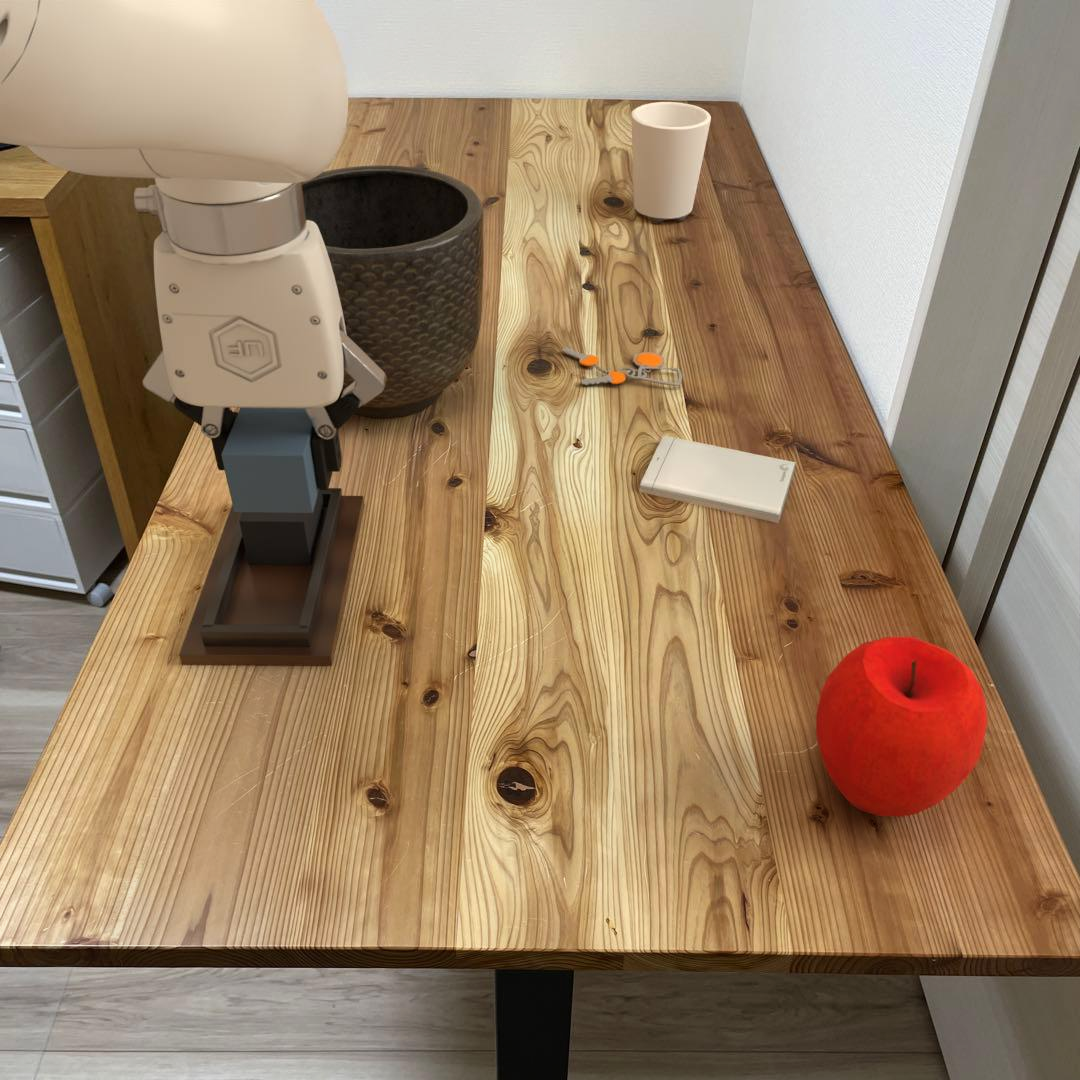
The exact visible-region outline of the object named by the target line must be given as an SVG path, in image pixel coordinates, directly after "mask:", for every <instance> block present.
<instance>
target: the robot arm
mask: <svg viewBox="0 0 1080 1080" xmlns="http://www.w3.org/2000/svg"><path fill="white" fill-rule="evenodd" d="M345 67H346V66H345V63H344V59H343V55H342V52H341V48H340V46H339V43H338V40H337V38H336V35H335V34H334V32H333V29H332V27H331V25H330V24H329V21H328V20H327V19H326V16H325V15H324V13H323V11H322V9H321V8H320V7H319V5H318V4H317V3H316V1H315V0H0V144H7V145H13V146H14V145H15V146H25V147H27V148H28V149H29V150H30V151H31V152H33V153H34V154H35V155H36V156H37V157H38V158H40V159H42V160H43V161H45V162H47V163H48V164H50V165H53V166H54V167H56V168H59V169H62V170H65V171H68V172H70V173H71V172H72V173H76V174H81V175H86V176H97V177H109V178H110V177H112V178H137V179H154V181H155V184H150V185H148V187H135V189H134V192H133V203H134V207H135V210H136V212H137V213H138V214H150V215H151V216H155V217H157V218H158V220H159V222H160V225H161V229H162V232H160V234H159V235H158V236H157V237H155V239H154V241H153V272H154V273H153V274H154V288H155V289H154V290H155V298H156V308H157V317H158V325H159V332H160V333H159V334H160V338H161V346H162V349H161V351H160V352H159V354H158V355H157V356H156V358H155V359H154V361H153V362H152V363H151V365H150V367H149V368H148V370H147V371H146V374H145V376H144V377H143V379H142V385H143V387H144V388H145V389H146V390H147V391H149V392H151V393H152V394H154V395H156V396H158V397H159V398H161V399H162V400H164V401H166V402H168V403H172V404H173V405H174V407H175V409H176V410H178V411H179V412H180V413H182V414H183V415H184V416H186V417H187V418H189V419H190V420H191V421H192V422H194V423H196V424H197V425H199V426H200V431H201V433H202V434H203V436H205V437H206V438H209V439H210V440H211V445H212V449H213V454H214V458H215V462H216V467H217V469H218V471H225V469H224V464H223V460H222V455H221V454H222V452H223V449H224V447H225V444H226V442H227V439H228V437H229V434H230V432H231V429H232V427H233V424H234V422H235V419H236V417H237V414H238V412H239V411H234V410H232V409H231V408H233V409H234V408H236V409H238V408H239V409H240V408H304V409H305V411H306V413H307V415H308V417H309V419H310V421H311V423H312V425H313V433H312V437H311V440H310V446H311V452H312V459H313V465H314V471H315V478H316V484H317V488H319V490H328V488H330V483H331V481H332V476H333V472H336V473H337V472H338V473H340V471H341V467H342V459H343V458H342V449H341V441H340V432H339V429H340V428H341V427H342V426H343V425H344V424H346V423H347V421H349V420H350V419H351V418H352V416H354V415H355V414H356V412H357V411H358V408H359V407H361V406H362V405H363V404H366V403H368V402H369V401H370V400H372V399H373V398H375V397H376V396H377V395H379V394H380V393H381V392H383V390H384V387H385V383H386V378H387V377H386V374H385V372H384V371H383V370H382V369H381V368H380V367H379V366H378V365H377V364H376V363H375V362H374V361H373V360H372V359H371V358H370V357H369V356H368V355H366V354H365V353H364V352H363V351H362V350H361V349H360V348H359V347H358V346H357V345H356V344H355V343H354V342H353V341H352V340H351V339H350V338H349V337H348V336H347V334H346V327H345V322H344V317H343V312H342V307H341V302H340V298H339V293H338V289H337V285H336V281H335V277H334V273H333V270H332V266H331V263H330V259H329V256H328V253H327V250H326V247H325V244H324V241H323V238H322V236H321V233H320V231H319V228H318V226H317V225H316V223H315V222H313V221H310V220H306V212H305V204H304V197H303V190H302V182H305V181H309V180H311V179H313V178H315V177H317V176H318V175H320V174H321V173H322V172H325V171H326V169H327V168H328V167H330V165H331V164H332V162H333V161H334V159H335V158H336V156H337V154H338V152H339V150H340V147H341V146H342V143H343V139H344V137H345V133H346V128H347V123H348V117H349V86H348V80H347V79H348V78H347V73H346V68H345ZM344 370H345V371H346V372H347V373H348V374H349V375H350V376H351V377H352V378H353V379H354V380H355V381H354V382H353V383H352V384H349V385H346V386H345V387H344V388H343V389H342V387H343V380H344ZM224 474H225V475H226V473H225V472H224ZM225 478H226V477H225ZM226 480H227V478H226ZM226 483H227V484H228V482H227V481H226Z"/></svg>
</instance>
